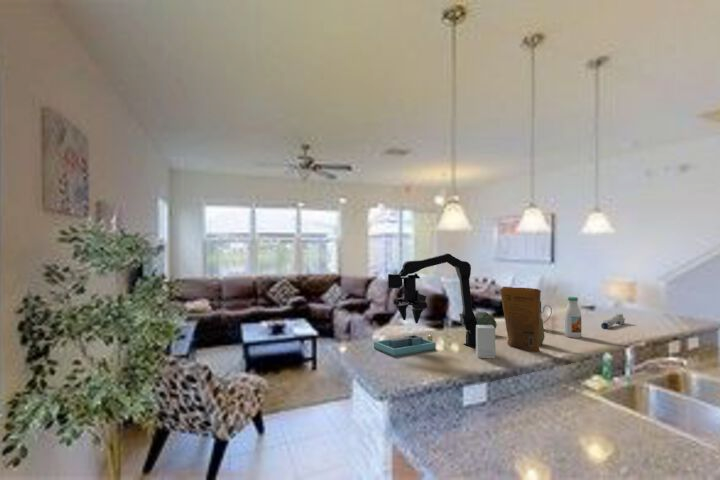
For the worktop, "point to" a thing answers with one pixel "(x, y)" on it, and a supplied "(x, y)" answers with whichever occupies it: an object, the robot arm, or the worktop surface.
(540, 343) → the squeeze bottle
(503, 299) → the pancake mix bag
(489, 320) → the vegetable
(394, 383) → the worktop surface
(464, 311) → the robot arm
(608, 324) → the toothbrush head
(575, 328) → the milk bottle
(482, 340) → the supplement box
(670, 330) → the worktop surface
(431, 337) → the ball stud
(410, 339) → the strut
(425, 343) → the bin
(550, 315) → the glass holder
